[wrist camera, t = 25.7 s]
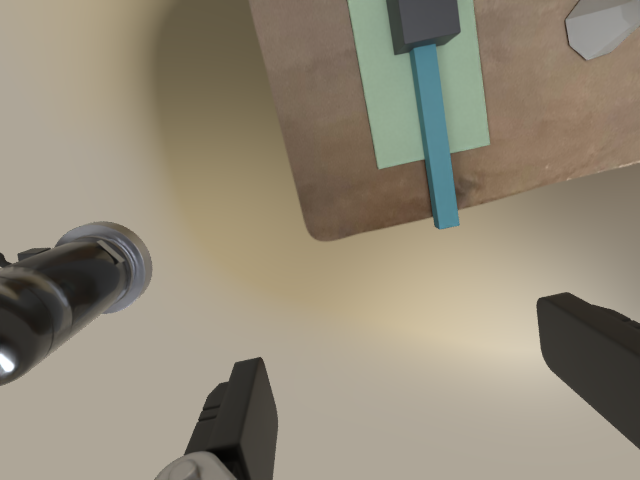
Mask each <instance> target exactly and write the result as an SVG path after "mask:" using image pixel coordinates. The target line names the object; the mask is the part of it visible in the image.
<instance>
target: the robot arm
mask: <svg viewBox="0 0 640 480" xmlns="http://www.w3.org/2000/svg"><path fill="white" fill-rule="evenodd" d="M18 260H19V262H16V263H13V264H12V263H9V262H7V261H6V260H5V258H4V255H3V254H2V253H0V267H2V268H0V386H2V385H5V384H8V383H10V382H12V381H15V380H17V379H18V378H20V377H22V376H23V375H25V374H26V373H27V372H29V371H30V370H31V369H32V368H33V367H35V366H36V365H37V364H39V363H40V362H41V361H42V360H44V359H45V358H46V357H48V356H49V355H50V354H51V353H53V352H54V351H55V350H57V349H58V348H59V347H60V346H61V345H62V344H64V343H65V342H66V341H68V340H69V339H70V338H72V337H73V336H74V335H75V334H77V333H78V332H79V331H80V330H82V329H83V328H84V327H86V326H87V325H88V324H89V323H90V322H92V321H93V320H94V319H96V318H97V317H98V316H100V314H102V313H103V312H105V311H106V310H107V309H108V308H110V307H111V306H112V305H114V304H115V303H117V302H118V301H120V300H121V299H122V298H124V297H125V296H126V295H127V294H128V293H129V291H130V290H131V288H132V286H133V283H134V280H135V267H134V263H133V261H132V258H131V256H130V255H129V253H128V252H127V250H126V249H125V248H124V247H123V246H122V245H121V244H119V243H118V242H116V241H115V240H113V239H111V238H108V237H105V236H101V235H86V236H83V237H80V238H77V239H75V240H73V241H71V242H69V243H66V244H63V245H60V246H58V247H55V248H53V249H51V248H34V249H30V250H27V251H24V252H21V253H18ZM537 316H538V326H539V336H540V345H541V351H542V355H543V358H544V360H545V362H546V364H547V365H548V367H549V368H550V370H551V371H552V372H554V373H555V374H556V375H557V376H558V377H559V378H560V379H561V380H563V381H564V382H565V383H566V384H567V385H568V386H569V387H570V388H571V389H573V390H574V391H575V392H576V393H577V394H578V395H580V397H582V398H583V399H584V400H585V401H586V402H587V403H588V404H589V405H591V406H592V407H593V408H594V409H595V410H596V411H597V412H598V413H599V414H601V415H602V416H603V417H604V418H605V419H606V420H607V421H608V422H610V423H611V424H612V425H613V426H614V427H615V428H617V429H618V430H619V431H620V432H621V433H622V434H623V435H624V436H625V437H626V438H628V439H629V440H630V441H631V442H632V443H633V444H634V445H635V446H637V447H638V448H639V449H640V323H638V322H636V321H634V320H633V321H631V319H630V318H628V317H626V316H624V315H622V314H620V313H618V312H616V311H614V310H611V309H607V308H604V307H600V306H596V305H591V304H589V303H587V302H585V301H584V300H582V299H580V298H578V297H576V296H574V295H572V294H571V293H567V292H565V293H560V294H556V295H551V296H547V297H542V298H539V299H538V301H537ZM198 420H199V422H197V424H196V426H195V429H194V431H193V434H192V437H191V439H190V441H189V444H188V446H187V449H186V451H185V454H184V456H182V457H180V458H178V459H176V460H175V461H173V462H172V463H170V464H169V465H168V466H166V467H165V468H164V469H163V470H162V471H161V472H160V473H159V474H158V475H157V477H156V478H155V479H154V480H272V479H273V469H274V460H275V451H276V440H277V431H278V417H277V410H276V405H275V401H274V397H273V394H272V390H271V386H270V383H269V379H268V375H267V371H266V368H265V364H264V362H263V359H262V358H261V357H259V358H254V359H250V360H245V361H240V362H236V363H235V364H234V367H233V370H232V373H231V376H230V379H229V382H224V383H220V384H219V385H218V386H217V387H216V388H215V389H214V390H213V391H212V392H211V393H210V394H209V395H208V397H207V399H206V402H205V404H204V407H203V411H202V412H201V414H200V417H199V419H198Z"/></svg>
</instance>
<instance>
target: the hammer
mask: <svg viewBox="0 0 640 480" xmlns="http://www.w3.org/2000/svg"><path fill="white" fill-rule="evenodd" d="M386 3H387V10H388V16H389V23H390V29H391V36H392V42H393V49H394V55H399V54H404V53H409V54H410V61H411V68H412V74H413V81H414V88H415V95H416V102H417V109H418V116H419V122H420V129H421V136H422V143H423V150H424V157H425V164H426V170H427V177H428V184H429V191H430V198H431V205H432V212H433V218H434V225H435V227H436V228H438V229H444V228H449V227H454V226H459V218H458V210H457V202H456V195H455V187H454V180H453V172H452V164H451V157H450V149H449V142H448V134H447V127H446V119H445V111H444V104H443V96H442V89H441V81H440V74H439V66H438V58H437V51H436V47H437V46H442V45H445V44H447V43H448V42H449V41H450V40H452V39H453V38H454V37H455V36H457V35H458V34H459V33H461V28H460V20H459V11H458V3H457V0H386Z"/></svg>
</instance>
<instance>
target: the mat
mask: <svg viewBox="0 0 640 480" xmlns="http://www.w3.org/2000/svg"><path fill="white" fill-rule="evenodd" d="M347 3H348V8H349V14H350V19H351V25H352V30H353V36H354V41H355V47H356V52H357V58H358V63H359V69H360V74H361V80H362V85H363V91H364V96H365V102H366V107H367V113H368V118H369V124H370V129H371V135H372V140H373V146H374V151H375V157H376V162H377V168H378V169H382V168H386V167H391V166H396V165H400V164H405V163H409V162H414V161H418V160H423V159H425V157H424V150H423V143H422V136H421V129H420V122H419V116H418V109H417V102H416V95H415V88H414V81H413V74H412V68H411V61H410V54H409V53H404V54H399V55H394V49H393V42H392V36H391V29H390V23H389V16H388V10H387V3H386V0H347ZM457 3H458V11H459V20H460V28H461V33H459V34H458V35H457V36H455V37H454V38H453V39H452V40H450V41H449V42H448V43H447V44H445V45H442V46H437V47H436V51H437V58H438V66H439V74H440V81H441V89H442V96H443V104H444V111H445V119H446V127H447V134H448V142H449V149H450V153H455V152H459V151H464V150H468V149H473V148H477V147H482V146H487V145H490V139H489V131H488V123H487V114H486V106H485V98H484V89H483V81H482V72H481V64H480V56H479V47H478V39H477V31H476V22H475V14H474V6H473V0H457Z"/></svg>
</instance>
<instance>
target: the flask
mask: <svg viewBox="0 0 640 480" xmlns="http://www.w3.org/2000/svg"><path fill="white" fill-rule="evenodd" d="M565 21H566V27H567V32H568V38H569V44H570V46H571V47H572V48H573V49H575V50H576V51H577V52H578V53H579V54H580V55H582V56H583V57H584V58H585V59H586V60H590V59H593V58H596V57H599V56H602V55H605V54H608V53H611V52H612V51H613V50H614V49H615V48H616V47H617V46H618V45H619V44H620V43H621V42H622V41H623V40H624V39H625V38H626V37H628V36H629V35H630V34H631V33H632V32H633V31H634V30H635V29H636V28H638V27H639V26H640V0H580V1H579V2H578V4H577V5H576V6H575V8H574V9H573V10H572V12H571V13H570V14H569V16H568V17H567V18H566V20H565Z"/></svg>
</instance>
